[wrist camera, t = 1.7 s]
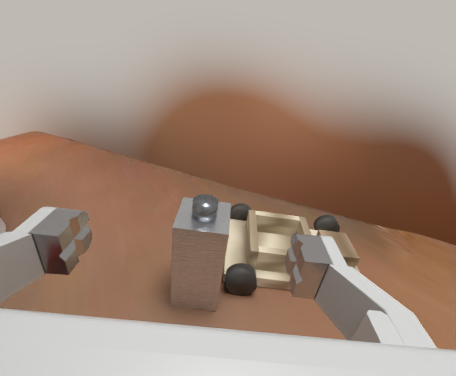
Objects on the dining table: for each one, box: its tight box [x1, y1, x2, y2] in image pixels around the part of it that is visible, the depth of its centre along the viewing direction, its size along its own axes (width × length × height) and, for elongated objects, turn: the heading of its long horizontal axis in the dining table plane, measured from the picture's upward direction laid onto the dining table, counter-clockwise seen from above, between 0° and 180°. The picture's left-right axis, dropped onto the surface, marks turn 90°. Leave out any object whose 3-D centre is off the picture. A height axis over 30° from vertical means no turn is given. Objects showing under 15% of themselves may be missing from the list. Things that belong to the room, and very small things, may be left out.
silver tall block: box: [170, 195, 231, 311], centre depth 27 cm, size 5×5×12 cm
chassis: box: [223, 204, 360, 295], centre depth 35 cm, size 18×14×4 cm
